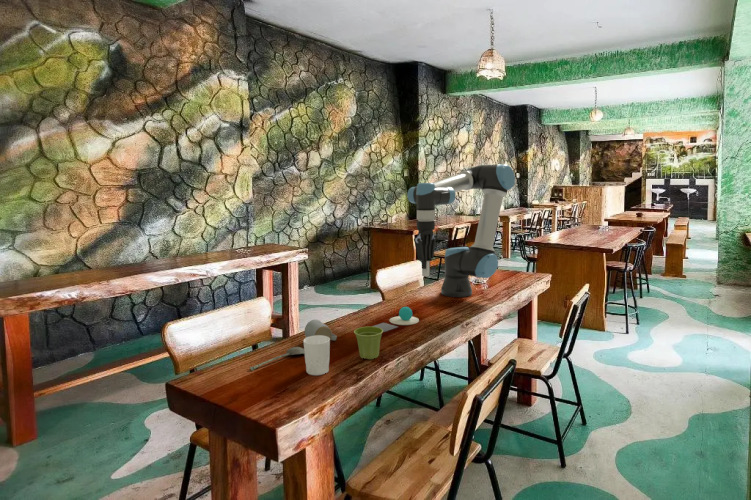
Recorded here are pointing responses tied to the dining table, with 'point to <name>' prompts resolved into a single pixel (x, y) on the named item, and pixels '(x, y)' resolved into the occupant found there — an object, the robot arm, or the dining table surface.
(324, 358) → the white cup
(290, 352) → the soupspoon
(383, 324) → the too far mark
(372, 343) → the plant pot
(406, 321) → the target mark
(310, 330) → the ceramic mug
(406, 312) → the ball
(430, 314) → the dining table surface
